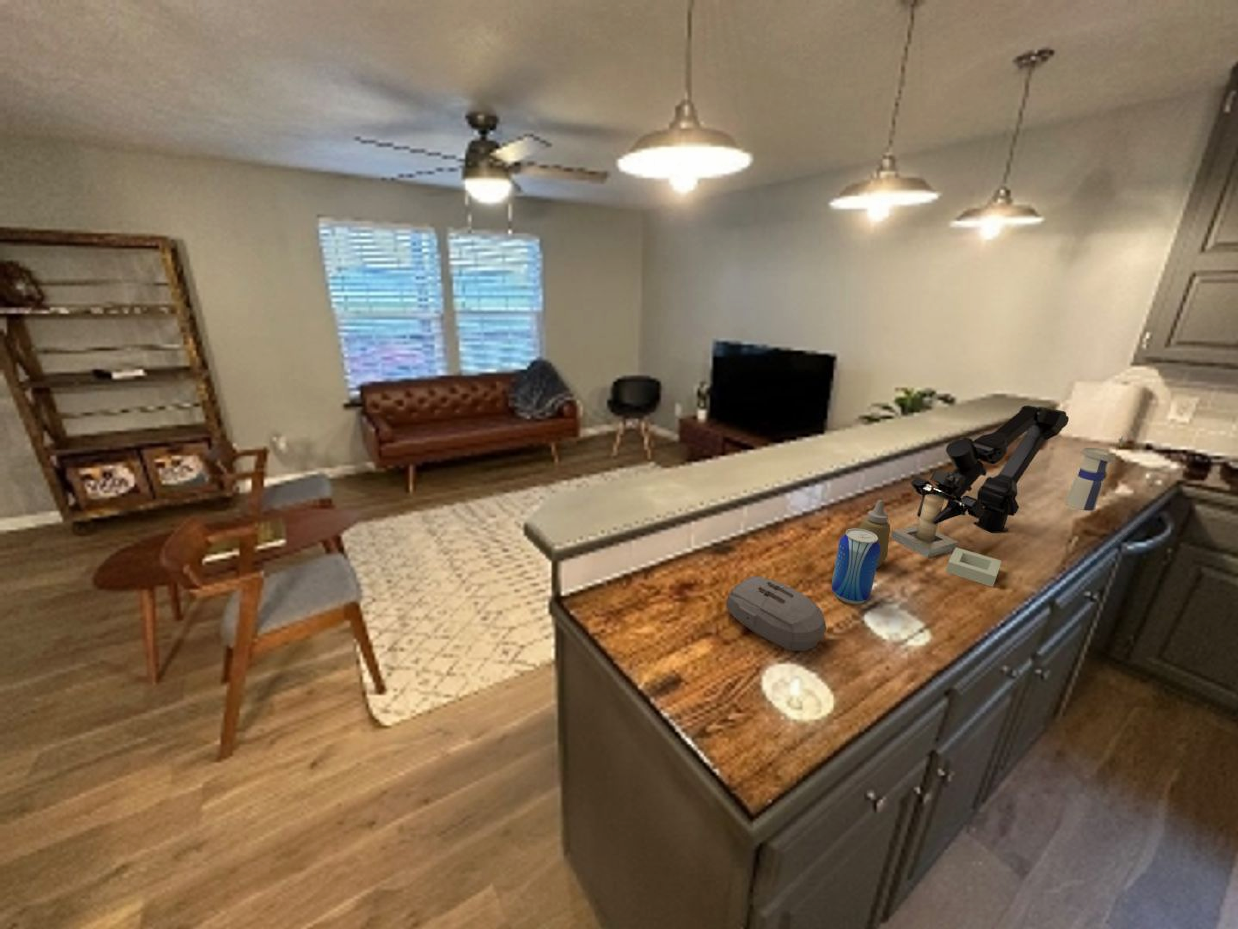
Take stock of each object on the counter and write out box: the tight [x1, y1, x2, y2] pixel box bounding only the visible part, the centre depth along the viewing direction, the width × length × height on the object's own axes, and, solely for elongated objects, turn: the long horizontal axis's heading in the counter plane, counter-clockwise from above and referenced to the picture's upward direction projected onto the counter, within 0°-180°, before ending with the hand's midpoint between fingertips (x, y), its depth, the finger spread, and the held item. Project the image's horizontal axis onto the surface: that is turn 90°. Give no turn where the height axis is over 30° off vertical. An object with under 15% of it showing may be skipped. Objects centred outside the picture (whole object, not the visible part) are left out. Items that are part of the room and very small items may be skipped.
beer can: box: [830, 527, 881, 605], centre depth 114 cm, size 8×8×16 cm
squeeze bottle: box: [859, 499, 891, 569], centre depth 127 cm, size 8×8×18 cm
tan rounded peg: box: [915, 494, 945, 544], centre depth 137 cm, size 4×4×13 cm
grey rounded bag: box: [725, 575, 828, 652], centre depth 105 cm, size 15×8×20 cm
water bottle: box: [1064, 436, 1125, 512], centre depth 162 cm, size 8×9×25 cm
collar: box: [945, 547, 1002, 588], centre depth 126 cm, size 10×10×3 cm
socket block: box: [890, 524, 959, 559], centre depth 140 cm, size 12×12×2 cm
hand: (925, 519), depth 137 cm, fingers closed on tan rounded peg, 4 cm apart
